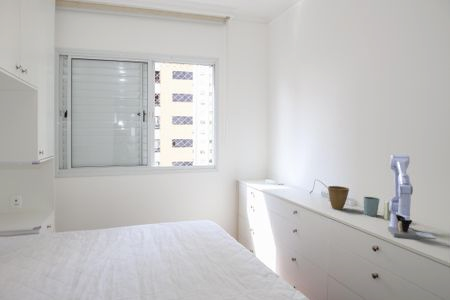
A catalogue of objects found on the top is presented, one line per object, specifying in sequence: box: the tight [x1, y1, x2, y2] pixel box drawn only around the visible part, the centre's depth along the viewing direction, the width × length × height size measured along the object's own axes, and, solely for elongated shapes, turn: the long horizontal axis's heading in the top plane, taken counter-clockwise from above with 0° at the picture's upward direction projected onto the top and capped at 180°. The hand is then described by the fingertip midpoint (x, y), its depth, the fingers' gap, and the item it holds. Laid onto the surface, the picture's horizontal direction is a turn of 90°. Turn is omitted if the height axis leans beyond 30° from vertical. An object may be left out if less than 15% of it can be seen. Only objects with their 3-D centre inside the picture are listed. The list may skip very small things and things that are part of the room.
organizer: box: [387, 226, 420, 240], centre depth 180 cm, size 14×12×2 cm
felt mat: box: [414, 231, 436, 240], centre depth 179 cm, size 9×9×1 cm
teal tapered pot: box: [363, 196, 380, 217], centre depth 224 cm, size 10×10×12 cm
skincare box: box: [383, 200, 392, 221], centre depth 213 cm, size 6×4×12 cm
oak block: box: [398, 221, 408, 233], centre depth 180 cm, size 4×4×7 cm
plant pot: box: [327, 185, 350, 211], centre depth 241 cm, size 15×15×16 cm
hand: (402, 229), depth 180 cm, fingers open, 7 cm apart
